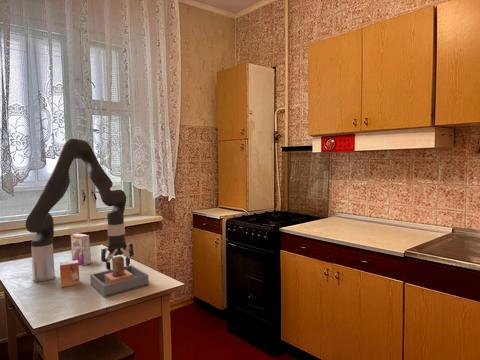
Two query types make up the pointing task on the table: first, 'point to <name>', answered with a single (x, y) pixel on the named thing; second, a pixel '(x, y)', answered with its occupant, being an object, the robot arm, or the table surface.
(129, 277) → the walled bin
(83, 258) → the candy bar box
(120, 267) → the walnut peg
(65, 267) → the small box
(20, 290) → the table surface
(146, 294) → the table surface
